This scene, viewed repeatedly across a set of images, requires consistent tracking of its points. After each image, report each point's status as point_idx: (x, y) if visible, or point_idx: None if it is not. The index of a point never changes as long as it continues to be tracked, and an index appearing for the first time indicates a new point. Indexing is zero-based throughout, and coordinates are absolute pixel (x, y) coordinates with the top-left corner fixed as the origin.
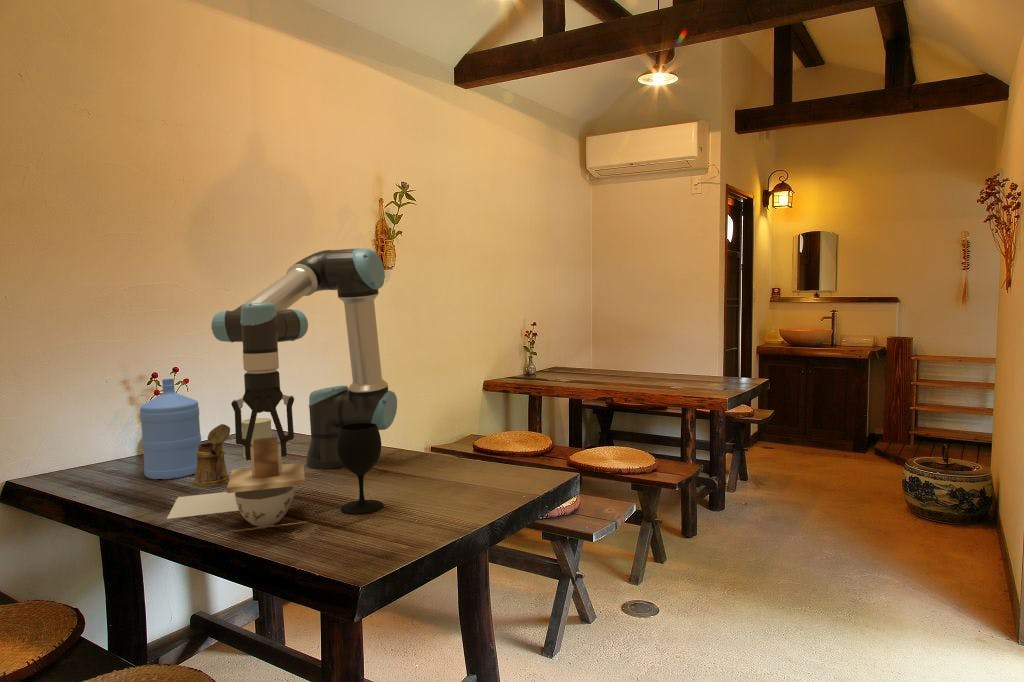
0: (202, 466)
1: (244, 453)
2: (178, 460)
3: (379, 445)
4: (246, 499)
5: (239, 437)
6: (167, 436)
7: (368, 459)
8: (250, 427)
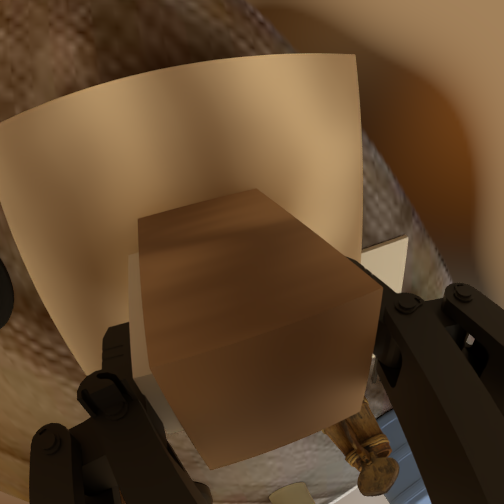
0: (371, 422)
1: (305, 487)
2: (391, 435)
3: None
4: None
5: (483, 316)
6: None
7: None
8: (481, 415)
